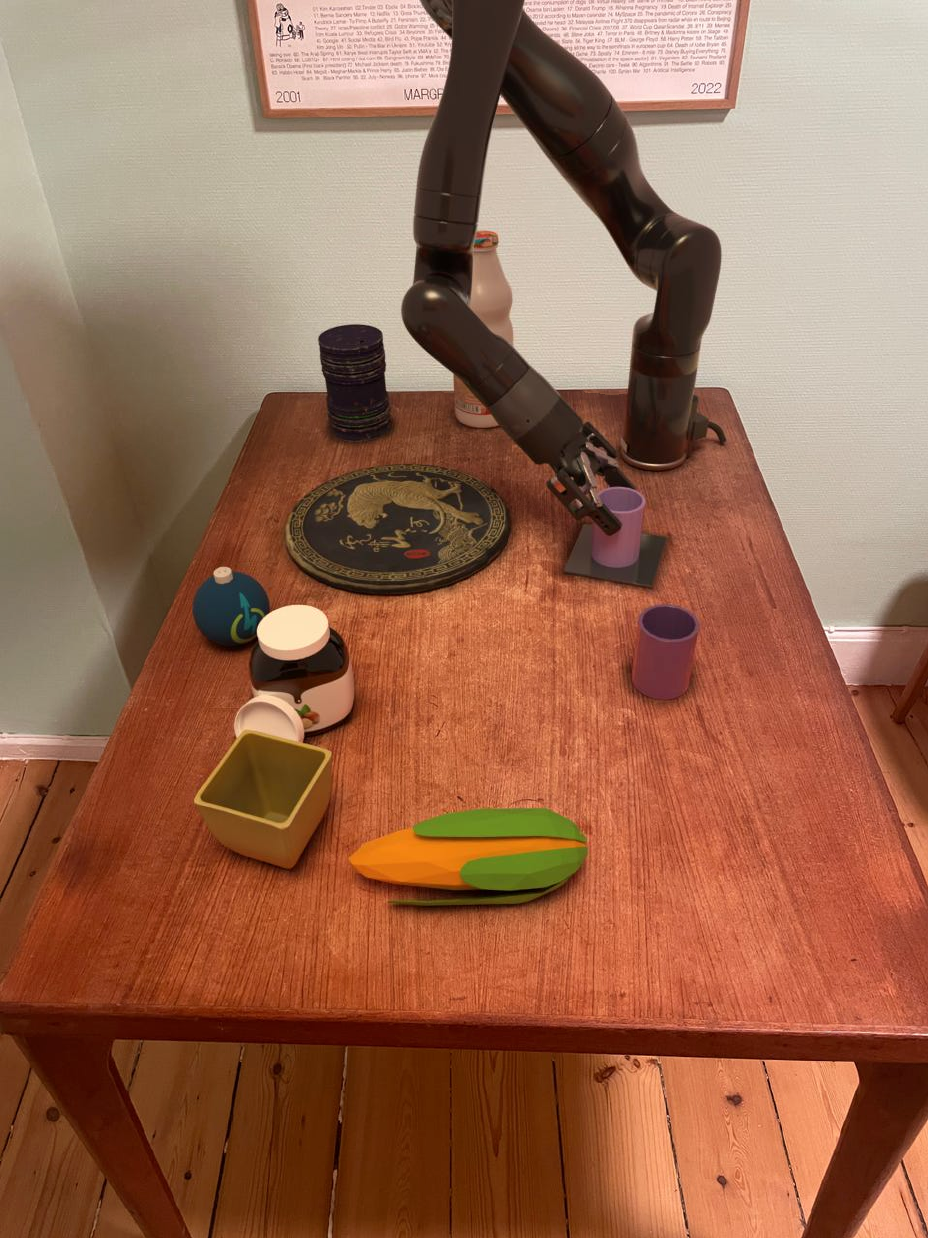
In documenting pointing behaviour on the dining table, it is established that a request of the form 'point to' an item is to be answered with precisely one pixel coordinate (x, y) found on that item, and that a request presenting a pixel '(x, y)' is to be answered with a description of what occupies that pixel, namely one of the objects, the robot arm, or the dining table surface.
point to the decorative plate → (397, 529)
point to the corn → (478, 854)
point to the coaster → (634, 574)
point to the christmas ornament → (230, 607)
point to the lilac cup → (626, 541)
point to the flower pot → (267, 797)
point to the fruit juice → (485, 320)
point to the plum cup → (664, 651)
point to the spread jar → (297, 676)
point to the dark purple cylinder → (355, 382)
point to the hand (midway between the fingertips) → (623, 512)
